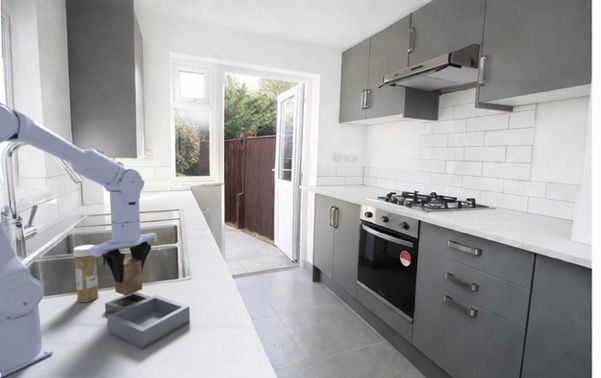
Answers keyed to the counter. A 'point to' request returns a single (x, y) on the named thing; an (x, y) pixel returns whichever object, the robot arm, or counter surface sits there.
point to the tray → (148, 321)
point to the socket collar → (124, 302)
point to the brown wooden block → (130, 277)
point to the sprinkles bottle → (85, 274)
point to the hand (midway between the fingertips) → (128, 278)
